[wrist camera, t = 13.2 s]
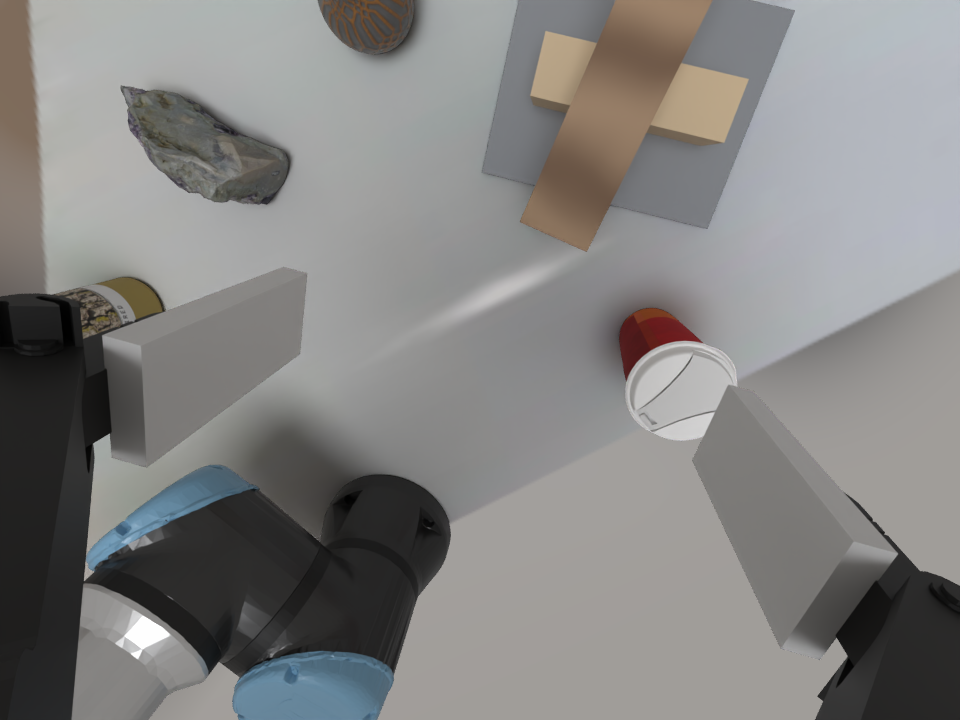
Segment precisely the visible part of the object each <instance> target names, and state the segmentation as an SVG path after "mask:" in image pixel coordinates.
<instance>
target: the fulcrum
mask: <svg viewBox="0 0 960 720" xmlns="http://www.w3.org/2000/svg"><path fill="white" fill-rule="evenodd" d="M615 1H616V0H519V2H518V7H517V11H516V16H515V21H514V25H513V30H512V35H511V39H510V44H509V49H508V53H507V58H506V63H505V67H504V72H503V77H502V81H501V86H500V91H499V95H498V100H497V104H496V109H495V114H494V118H493V123H492V128H491V132H490V137H489V142H488V146H487V151H486V156H485V160H484V165H483V170H482V172H483V173H487V174H491V175H495V176H499V177H503V178H507V179H510V180H514V181H518V182H522V183H526V184H530V185H534V186H535V185H536V183H537V181H538V179H539V176H540V174H541V172H542V169H543V167H544V165H545V162H546V160H547V158H548V155H549V153H550V151H551V148H552V146H553V144H554V142H555V139H556V137H557V135H558V132H559V130H560V128H561V125H562V123H563V121H564V118H565V116H566V114H567V111H568V109H569V107H570V105H571V102H572V100H573V98H574V95H575V93H576V91H577V88H578V86H579V84H580V81H581V79H582V77H583V75H584V72H585V70H586V68H587V65H588V63H589V61H590V58H591V56H592V54H593V51H594V49H595V47H596V44H597V42H598V40H599V38H600V35H601V33H602V31H603V28H604V26H605V24H606V21H607V19H608V17H609V14H610V12H611V10H612V7H613V5H614V3H615ZM794 12H795V10H791V9H786V8H782V7H778V6H773V5H769V4H765V3H760V2H756V1H752V0H713V1H712V3H711V5H710V7H709V9H708V11H707V13H706V15H705V17H704V19H703V21H702V23H701V25H700V27H699V29H698V31H697V33H696V35H695V37H694V39H693V41H692V43H691V45H690V46H689V48H688V50H687V52H686V54H685V56H684V58H683V60H682V62H681V64H680V66H679V68H678V70H677V72H676V74H675V76H674V78H673V80H672V82H671V84H670V86H669V88H668V90H667V92H666V94H665V96H664V98H663V100H662V102H661V104H660V106H659V108H658V110H657V112H656V114H655V116H654V118H653V120H652V122H651V124H650V126H649V128H648V130H647V132H646V134H645V136H644V138H643V140H642V142H641V144H640V146H639V148H638V150H637V152H636V154H635V156H634V158H633V160H632V162H631V164H630V166H629V168H628V170H627V172H626V174H625V176H624V178H623V180H622V182H621V184H620V186H619V188H618V190H617V192H616V194H615V196H614V198H613V200H612V202H611V204H610V205H614V206H618V207H622V208H626V209H630V210H634V211H638V212H642V213H646V214H650V215H654V216H658V217H662V218H666V219H670V220H674V221H678V222H682V223H686V224H690V225H694V226H698V227H702V228H706V229H708V226H709V224H710V221H711V219H712V216H713V214H714V211H715V209H716V206H717V204H718V201H719V199H720V196H721V194H722V191H723V189H724V186H725V184H726V181H727V179H728V176H729V174H730V171H731V169H732V166H733V164H734V161H735V159H736V157H737V154H738V152H739V149H740V147H741V144H742V142H743V139H744V137H745V134H746V132H747V129H748V127H749V124H750V122H751V119H752V117H753V114H754V112H755V109H756V107H757V104H758V102H759V99H760V97H761V94H762V92H763V89H764V87H765V84H766V82H767V79H768V77H769V74H770V72H771V69H772V67H773V64H774V62H775V59H776V57H777V54H778V52H779V49H780V47H781V44H782V42H783V39H784V37H785V34H786V32H787V29H788V27H789V24H790V22H791V19H792V17H793V14H794Z"/></svg>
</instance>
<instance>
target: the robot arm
mask: <svg viewBox="0 0 960 720" xmlns="http://www.w3.org/2000/svg"><path fill="white" fill-rule="evenodd" d="M306 282H307V273H304V272H300V271H297V270H293V269H289V268H285V267H283V268H280V269H277V270H275V271H272V272H269V273H267V274H264V275H261V276H259V277H256V278H253V279H251V280H248V281H245V282H243V283H240V284H237V285H235V286H232V287H229V288H227V289H224V290H221V291H219V292H216V293H213V294H211V295H208V296H205V297H203V298H200V299H197V300H195V301H192V302H189V303H187V304H184V305H181V306H179V307H176V308H173V309H171V310H168V311H164V312H158V313H152V314H149V315H147V316H144V317H141V318H138V319H136V320H135V321H134V322H133V321H130V322H127V323H125V324H122V325H120V327H114V328H111V329H108V330H106V331H103V332H100V333H98V334H95V335H92V336H89V337H87V338H84V339H83V333H82V322H81V312H80V306H79V304H78V302H76V301H74V300H72V299H70V298H67V297H62V296H58V295H50V294H16V295H8V296H1V297H0V720H148V719H149V718H150V717H151V716H152V714H153V713H154V712H155V711H156V709H157V708H158V707H159V705H160V704H161V703H162V702H163V700H164V699H165V698H166V697H167V696H168V695H169V694H171V693H173V692H174V691H177V690H180V689H183V688H187V687H190V686H193V685H196V684H199V683H202V682H203V681H204V680H205V679H206V678H207V676H208V675H209V674H210V672H211V671H212V670H213V668H214V667H215V666H216V665H217V663H218V662H220V663H222V664H223V665H224V666H226V667H227V668H228V669H230V670H231V671H232V672H233V673H235V674H236V675H238V676H239V677H240V678H239V680H238V681H237V684H236V685H235V690H234V695H233V701H232V702H233V709H234V711H235V713H237V714H238V719H239V720H377V719H378V716H379V714H380V711H381V709H382V706H383V704H384V701H385V699H386V696H387V694H388V692H389V690H390V689H391V687H392V684H393V681H394V673H395V669H396V665H397V663H398V659H399V656H400V653H401V650H402V646H403V643H404V639H405V636H406V633H407V630H408V627H409V623H410V620H411V617H412V614H413V610H414V607H415V604H416V600H417V597H418V596H419V595H420V593H421V592H422V591H423V590H424V589H425V587H426V586H427V585H428V583H429V582H430V581H431V580H432V579H433V577H434V576H435V575H436V573H437V572H438V571H439V570H440V568H441V566H442V565H443V562H444V560H445V558H446V555H447V551H448V547H449V544H450V537H451V534H450V533H451V532H450V525H449V521H448V519H447V516H446V514H445V512H444V510H443V509H442V507H441V506H440V504H439V503H438V502H437V501H436V500H435V499H434V497H433V496H431V495H430V494H429V493H428V492H427V491H425V490H424V489H423V488H421V487H419V486H418V485H416V484H414V483H412V482H410V481H407V480H405V479H402V478H398V477H394V476H387V475H371V476H366V477H362V478H359V479H356V480H354V481H352V482H350V483H348V484H347V485H346V486H344V487H343V488H342V489H341V490H340V491H339V492H338V494H337V495H336V497H335V498H334V500H333V501H332V503H331V504H330V506H329V508H328V510H327V512H326V515H325V518H324V522H323V528H322V534H321V540H320V542H319V541H318V540H317V539H315V538H314V537H313V536H312V535H311V534H309V533H308V532H307V531H306V530H305V529H304V528H302V527H301V526H300V525H299V524H298V523H297V522H295V521H294V520H293V519H292V518H291V517H289V516H288V515H287V514H286V513H285V512H284V511H282V510H281V509H280V508H279V507H278V506H277V505H275V504H274V503H273V502H272V501H271V500H269V499H268V498H267V497H266V496H265V495H264V494H262V493H261V492H260V491H259V488H258V487H257V486H256V485H250V484H249V483H248V482H246V481H245V480H244V479H242V478H241V477H240V476H239V475H237V474H236V473H235V472H233V471H232V470H231V469H229V468H227V467H225V466H222V465H208V466H205V467H202V468H200V469H197V470H195V471H193V472H191V473H190V474H188V475H186V476H184V477H183V478H181V479H180V480H178V481H176V482H175V483H173V484H172V485H170V486H169V487H167V488H166V489H164V490H163V491H161V492H160V493H158V494H157V495H156V496H154V497H153V498H151V499H150V500H149V501H147V502H146V503H145V504H143V505H142V506H141V507H139V508H138V509H137V510H135V511H134V512H133V513H132V514H130V515H129V516H128V517H127V519H126V520H125V521H123V522H121V523H120V524H119V525H118V526H116V527H115V528H114V529H112V530H111V531H109V532H108V533H107V534H106V535H104V536H103V537H102V538H101V539H100V540H99V541H98V542H97V543H96V544H95V545H94V546H93V547H92V548H91V549H90V551H89V552H88V554H87V556H86V549H87V538H88V526H89V515H90V504H91V492H92V481H93V470H94V448H93V443H94V442H96V441H98V440H99V439H101V438H103V437H104V436H106V435H108V434H109V433H110V441H111V454H112V458H115V459H118V460H122V461H125V462H129V463H132V464H136V465H139V466H143V467H146V468H147V467H148V466H150V465H151V464H152V463H154V462H155V461H156V460H158V459H159V458H160V457H162V456H163V455H164V454H166V453H167V452H168V451H170V450H171V449H172V448H174V447H175V446H177V445H178V444H179V443H181V442H182V441H183V440H185V439H186V438H187V437H189V436H190V435H191V434H193V433H194V432H195V431H197V430H198V429H199V428H201V427H202V426H203V425H205V424H206V423H208V422H209V421H210V420H212V419H213V418H214V417H216V416H217V415H218V414H220V413H221V412H222V411H224V410H225V409H226V408H228V407H229V406H230V405H232V404H233V403H235V402H236V401H237V400H239V399H240V398H241V397H243V396H244V395H245V394H247V393H248V392H249V391H251V390H252V389H253V388H255V387H256V386H257V385H259V384H260V383H261V382H263V381H264V380H266V379H267V378H268V377H270V376H271V375H272V374H274V373H275V372H276V371H278V370H279V369H280V368H282V367H283V366H284V365H286V364H287V363H288V362H290V361H291V360H293V359H294V358H295V357H297V356H298V355H299V354H300V348H301V337H302V326H303V315H304V304H305V293H306ZM692 461H693V463H694V465H695V467H696V470H697V472H698V474H699V476H700V478H701V480H702V482H703V484H704V487H705V489H706V491H707V493H708V495H709V497H710V499H711V502H712V504H713V506H714V508H715V510H716V512H717V514H718V517H719V519H720V521H721V523H722V525H723V527H724V529H725V531H726V534H727V536H728V538H729V540H730V542H731V544H732V546H733V548H734V551H735V553H736V555H737V557H738V559H739V561H740V563H741V565H742V568H743V569H744V572H745V574H746V576H747V578H748V580H749V582H750V584H751V587H752V589H753V591H754V593H755V595H756V597H757V599H758V601H759V604H760V606H761V608H762V610H763V612H764V614H765V616H766V619H767V621H768V623H769V625H770V627H771V629H772V631H773V634H774V636H775V638H776V640H777V642H778V644H779V646H780V648H781V649H783V650H787V651H790V652H794V653H798V654H801V655H805V656H808V657H811V658H815V659H818V660H820V659H821V657H822V656H823V655H824V654H825V652H826V651H827V650H828V648H829V647H830V646H831V644H832V643H833V642H834V640H835V639H836V637H837V639H838V640H839V642H840V644H841V645H842V647H843V649H844V650H845V652H846V653H847V655H848V657H847V659H846V660H845V661H844V662H843V664H842V665H841V666H840V667H839V669H838V670H837V671H836V673H835V674H834V675H833V677H832V678H831V679H830V680H829V682H828V683H827V685H826V686H825V687H824V688H823V690H822V691H821V692H820V693H819V695H818V697H819V698H820V699H821V700H823V703H822V706H821V708H820V710H819V712H818V714H817V717H816V719H815V720H960V586H959V585H957V584H955V583H953V582H951V581H949V580H947V579H945V578H943V577H941V576H938V575H935V574H932V573H929V572H923V571H919V570H918V568H917V567H916V566H915V565H914V564H913V563H912V562H911V561H910V560H909V559H908V557H907V556H906V555H905V554H904V553H903V552H902V551H901V550H900V549H899V548H898V547H897V545H896V544H895V543H894V542H893V541H892V540H891V539H890V537H889V536H887V535H884V533H885V532H884V531H883V530H882V529H881V528H880V527H879V525H878V524H877V523H876V522H873V519H872V518H871V517H870V515H869V514H868V513H867V512H866V511H865V510H864V509H863V508H862V507H861V505H860V504H859V503H857V502H856V501H855V500H854V499H852V498H851V497H850V496H848V495H847V494H845V493H844V492H843V491H842V490H841V489H840V488H839V486H838V485H837V484H836V483H835V482H834V481H833V480H832V479H831V477H830V476H829V475H828V474H827V473H826V472H825V471H824V470H823V468H822V467H821V466H820V465H819V464H818V463H817V462H816V461H815V459H814V458H813V457H812V456H811V455H810V454H809V453H808V452H807V450H806V449H805V448H804V447H803V446H802V445H801V444H800V443H799V441H798V440H797V439H796V438H795V437H794V436H793V435H792V434H791V432H790V431H789V430H788V429H787V428H786V427H785V426H784V425H783V423H782V422H781V421H780V420H779V419H778V418H777V417H776V416H775V414H774V413H773V412H772V411H771V410H770V409H769V408H768V407H767V406H766V404H765V403H764V402H763V401H762V400H761V399H760V398H759V396H758V395H757V394H756V393H755V392H754V391H751V390H748V389H744V388H740V387H736V386H733V385H729V384H728V386H727V388H726V390H725V392H724V394H723V396H722V399H721V401H720V403H719V405H718V407H717V409H716V411H715V413H714V415H713V418H712V420H711V422H710V424H709V426H708V428H707V430H706V432H705V434H704V436H703V439H702V441H701V443H700V445H699V447H698V449H697V451H696V453H695V456H694V458H693V460H692ZM85 561H87V563H88V564H89V566H88V567H89V569H90V570H92V571H94V573H93V574H92V575H91V576H90V577H88V578H87V579H86V580H85V581H84V572H85Z"/></svg>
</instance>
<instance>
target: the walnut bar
mask: <svg viewBox="0 0 960 720" xmlns="http://www.w3.org/2000/svg"><path fill="white" fill-rule="evenodd" d="M712 1H713V0H616V1H615V3H614V5H613V7H612V10H611V12H610V14H609V17H608V19H607V21H606V24H605V26H604V28H603V31H602V33H601V35H600V38H599V40H598V42H597V44H596V47H595V49H594V51H593V54H592V56H591V58H590V61H589V63H588V65H587V68H586V70H585V72H584V75H583V77H582V79H581V81H580V84H579V86H578V88H577V91H576V93H575V95H574V98H573V100H572V102H571V105H570V107H569V109H568V111H567V114H566V116H565V118H564V121H563V123H562V125H561V128H560V130H559V132H558V135H557V137H556V139H555V142H554V144H553V146H552V148H551V151H550V153H549V155H548V158H547V160H546V162H545V165H544V167H543V169H542V172H541V174H540V176H539V179H538V181H537V183H536V185H535V188H534V190H533V192H532V195H531V197H530V199H529V202H528V204H527V206H526V209H525V211H524V213H523V215H522V218H521V220H520V222H521V223H523V224H525V225H528V226H530V227H532V228H534V229H537V230H539V231H541V232H543V233H546V234H548V235H550V236H552V237H555V238H557V239H559V240H561V241H563V242H566V243H568V244H570V245H572V246H575V247H577V248H579V249H581V250H584V251H586V252H587V250H588V248H589V246H590V244H591V242H592V240H593V238H594V236H595V234H596V232H597V230H598V228H599V226H600V224H601V222H602V220H603V218H604V216H605V214H606V212H607V210H608V208H609V206H610V204H611V202H612V200H613V198H614V196H615V194H616V192H617V190H618V188H619V186H620V184H621V182H622V180H623V178H624V176H625V174H626V172H627V170H628V168H629V166H630V164H631V162H632V160H633V158H634V156H635V154H636V152H637V150H638V148H639V146H640V144H641V142H642V140H643V138H644V136H645V134H646V132H647V130H648V128H649V126H650V124H651V122H652V120H653V118H654V116H655V114H656V112H657V110H658V108H659V106H660V104H661V102H662V100H663V98H664V96H665V94H666V92H667V90H668V88H669V86H670V84H671V82H672V80H673V78H674V76H675V74H676V72H677V70H678V68H679V66H680V64H681V62H682V60H683V58H684V56H685V54H686V52H687V50H688V48H689V46H690V45H691V43H692V41H693V39H694V37H695V35H696V33H697V31H698V29H699V27H700V25H701V23H702V21H703V19H704V17H705V15H706V13H707V11H708V9H709V7H710V5H711V3H712Z"/></svg>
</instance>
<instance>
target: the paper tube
mask: <svg viewBox="0 0 960 720" xmlns="http://www.w3.org/2000/svg"><path fill="white" fill-rule="evenodd" d="M53 295H58V296H62V297H67V298H70V299H72V300H74V301H76V302H78V304H79V306H80V312H81V322H82V333H83V339H84V338H87V337H89V336H92V335H95V334H98V333H100V332H103V331H106V330H108V329H111V328H114V327H120V325H122V324H125V323H127V322H130V321H133V322H134V321H135V320H136V319H138V318H141V317H144V316H147V315H149V314H152V313H158V312H163V310H162V306H161V303H160V301H159V299H158V297H157V296H156V295H155V293H154V292H153V291H152V290H151V289H150V288H149V287H148V286H146V285H145V284H143V283H142V282H140V281H137V280H135V279H132V278H116V279H112V280H109V281H105V282H101V283H97V284H93V285H88V286H84V287H80V288H76V289H73V290H69V291H65V292H61V293H57V294H53Z"/></svg>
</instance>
